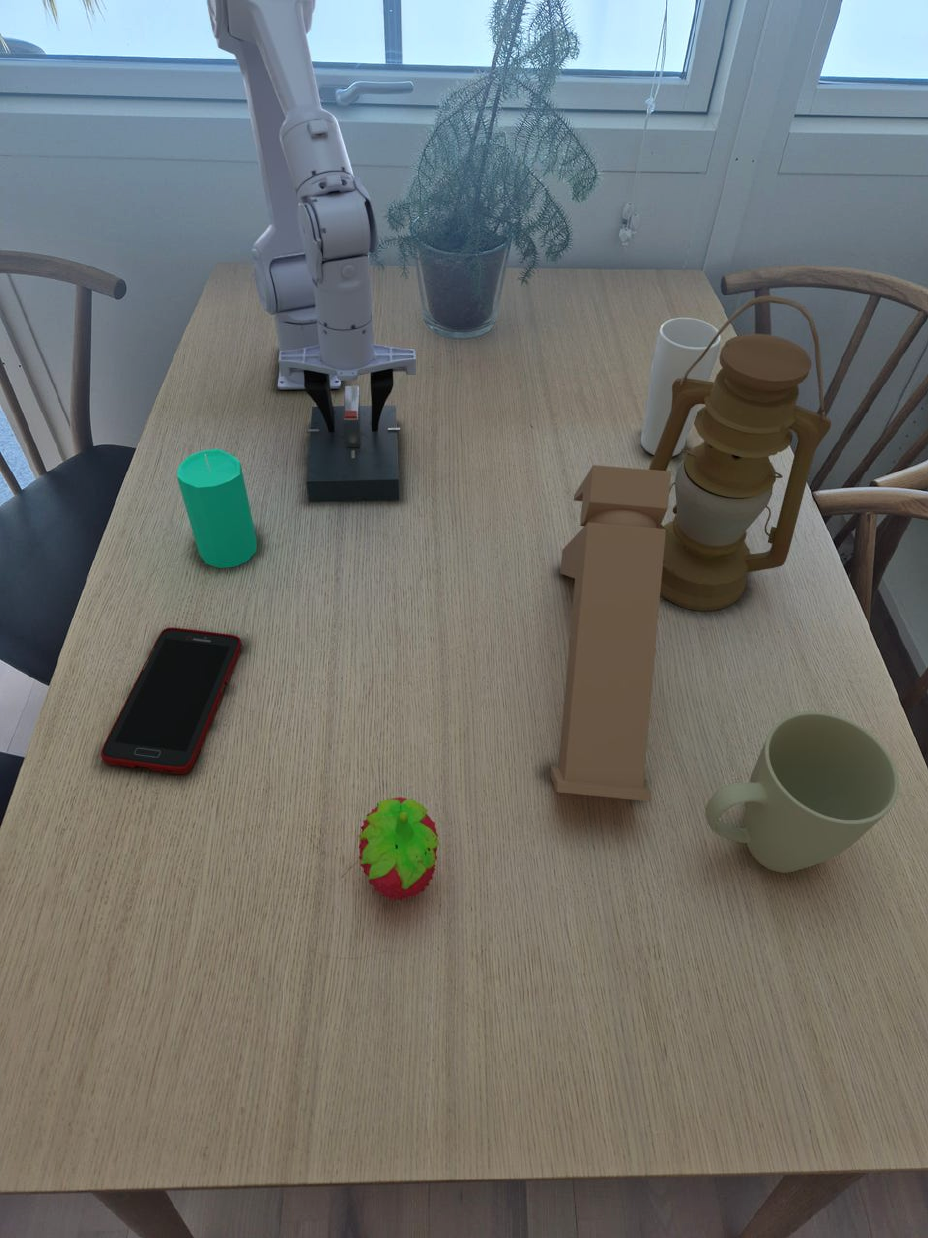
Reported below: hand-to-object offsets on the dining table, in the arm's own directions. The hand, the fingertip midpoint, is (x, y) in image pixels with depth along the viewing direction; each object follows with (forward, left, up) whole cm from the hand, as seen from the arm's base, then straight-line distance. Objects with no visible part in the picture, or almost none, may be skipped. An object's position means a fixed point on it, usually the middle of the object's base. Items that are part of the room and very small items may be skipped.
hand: (353, 426), depth 95 cm
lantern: (+22, +35, -4) cm, 42 cm away
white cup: (0, +37, -4) cm, 37 cm away
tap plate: (+2, 0, -3) cm, 4 cm away
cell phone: (+36, -15, -3) cm, 39 cm away
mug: (+53, +33, -4) cm, 62 cm away
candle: (+16, -13, -4) cm, 21 cm away
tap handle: (0, 0, 0) cm, 0 cm away
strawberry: (+53, +4, -4) cm, 53 cm away
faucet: (+35, +22, -4) cm, 42 cm away
